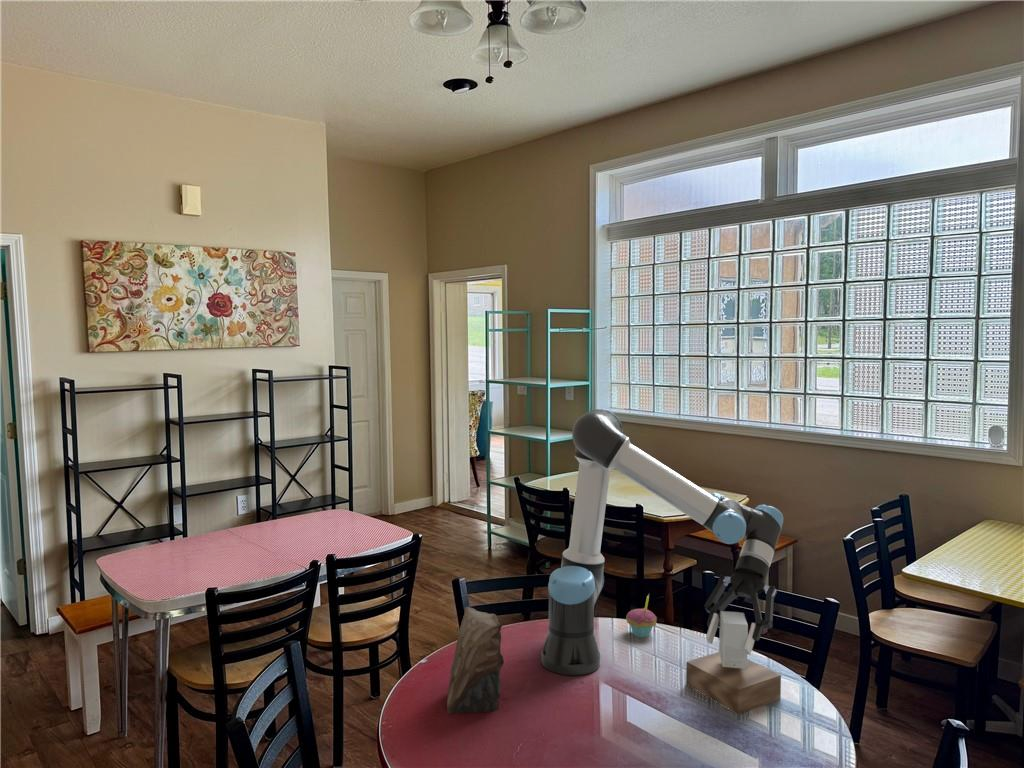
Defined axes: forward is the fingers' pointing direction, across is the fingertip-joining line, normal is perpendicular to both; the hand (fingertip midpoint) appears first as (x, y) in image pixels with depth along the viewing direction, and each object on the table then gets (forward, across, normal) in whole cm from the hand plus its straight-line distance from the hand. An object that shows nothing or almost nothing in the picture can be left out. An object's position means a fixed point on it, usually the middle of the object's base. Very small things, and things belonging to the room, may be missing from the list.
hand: (727, 646), depth 160 cm
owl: (+37, +44, +20) cm, 61 cm away
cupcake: (-5, +33, -22) cm, 40 cm away
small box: (+1, 0, -6) cm, 6 cm away
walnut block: (+6, 0, -11) cm, 13 cm away
